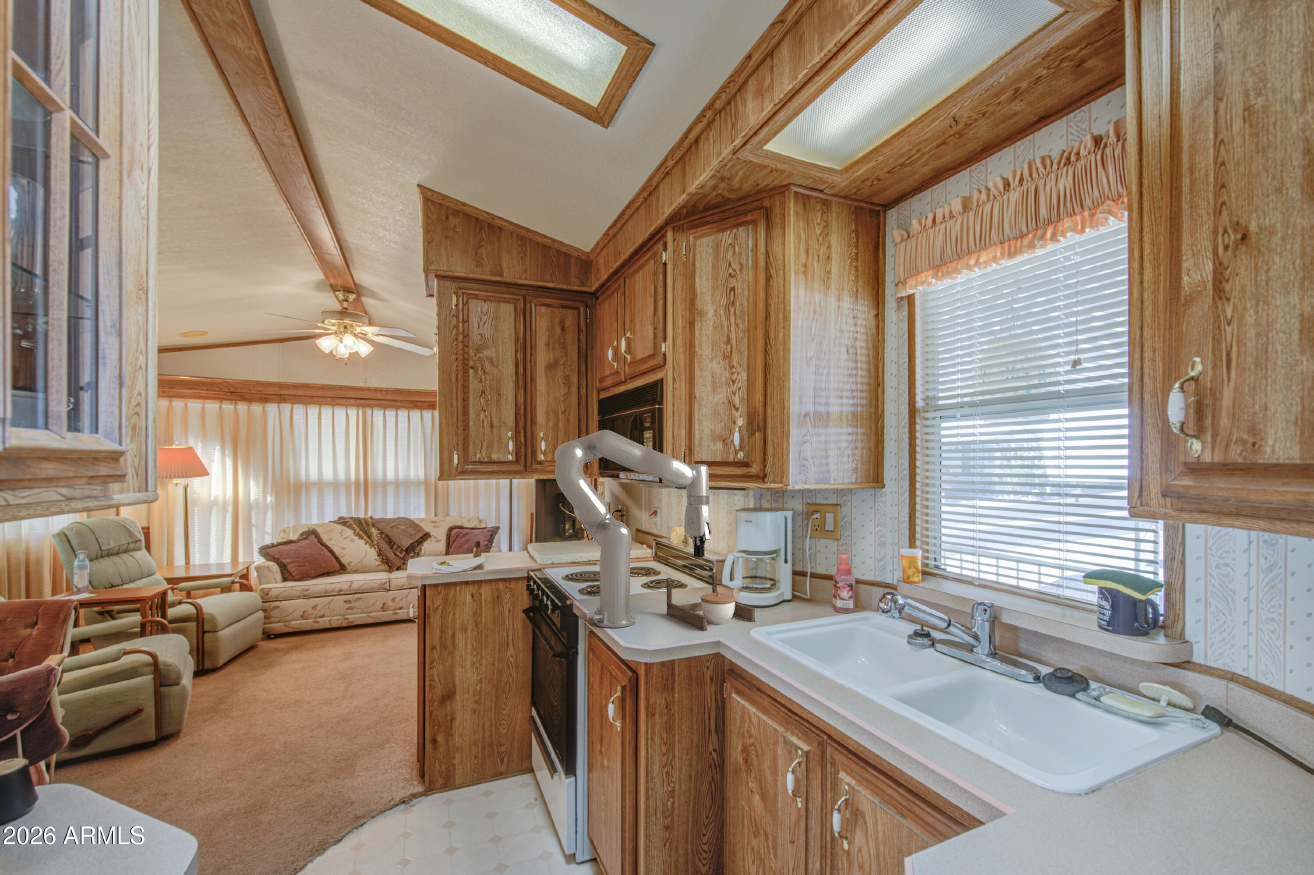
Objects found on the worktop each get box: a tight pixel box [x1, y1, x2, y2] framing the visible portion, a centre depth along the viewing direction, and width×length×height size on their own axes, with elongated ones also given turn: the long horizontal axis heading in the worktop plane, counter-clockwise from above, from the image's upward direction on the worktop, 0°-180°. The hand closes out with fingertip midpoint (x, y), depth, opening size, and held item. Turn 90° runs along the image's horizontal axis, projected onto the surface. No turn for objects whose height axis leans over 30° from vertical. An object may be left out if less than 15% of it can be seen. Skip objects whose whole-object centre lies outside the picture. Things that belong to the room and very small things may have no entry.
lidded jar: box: [700, 590, 736, 625], centre depth 174 cm, size 11×11×9 cm
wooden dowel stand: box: [666, 571, 756, 632], centre depth 178 cm, size 19×21×12 cm
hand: (699, 556), depth 184 cm, fingers closed
